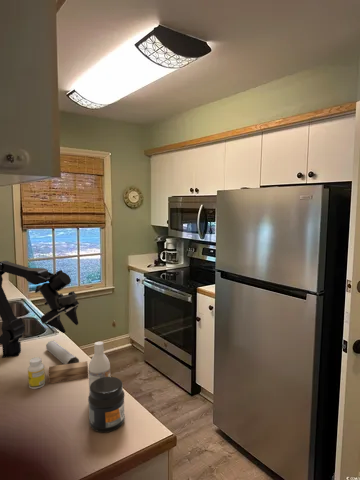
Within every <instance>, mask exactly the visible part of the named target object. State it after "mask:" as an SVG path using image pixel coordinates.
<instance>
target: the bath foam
mask: <svg viewBox="0 0 360 480" xmlns="http://www.w3.org/2000/svg"><path fill="white" fill-rule="evenodd" d="M93 345H94V349H93V350H94V351H93V352H94V354H93V356H92V357H91V359H90V361H89V363H88V393H89V395H90V385H91V384H92V383H93V382H94V381H95V380H97V379H99V378H103V377H111V363H110V360H109V358H108V357H107V355H106V354H105V351H104V341H96V342H94V344H93ZM89 395H88V396H89Z"/></svg>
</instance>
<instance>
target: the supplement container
mask: <svg viewBox="0 0 360 480" xmlns="http://www.w3.org/2000/svg"><path fill="white" fill-rule="evenodd" d="M123 385H124V384H123V381H122V379H120V378H119V377H116V376H115V377H114V376H110V377H103V378H99V379H97V380H95V381H94V382H93V383H92V384H91V385H90V395H88V399H87V400H88V417H89V419H88V423H89V426H90V428H91V429H92V430H93V431H96V432H99V433H108V432H109V433H110V432H112V431H115V430H117V429H118V428H120V427H121V426H122V425H123V423H124V421H125V419H126V418H125V392H124V388H123Z"/></svg>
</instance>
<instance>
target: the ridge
mask: <svg viewBox="0 0 360 480" xmlns="http://www.w3.org/2000/svg"><path fill="white" fill-rule="evenodd" d="M86 378H89V363H88V361H79V363H72V364H65V365H64V364H59V365H58V364H57V365H53V366H49V367H48V384H53V383H60V382H65V381H72V380H79V379H80V380H81V379H86Z"/></svg>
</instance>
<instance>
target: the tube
mask: <svg viewBox="0 0 360 480" xmlns="http://www.w3.org/2000/svg"><path fill="white" fill-rule="evenodd" d="M45 347H46V350H47V351H48V353H50V354H51V355H53V356H54V357H55V358H56V359H57V360H58V361H60V363H62V365H65V364H72V363H79V362H80V359H79V358H78V357H77V356H75V355H74V354H73V353H71V352H70V351H68V350H67V349H66V348H64V347H63V346H62V345H60V344H59V343H58V342H56V341H55V340H54V339H53V340H50V341H48V342H47V343H46V344H45Z"/></svg>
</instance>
